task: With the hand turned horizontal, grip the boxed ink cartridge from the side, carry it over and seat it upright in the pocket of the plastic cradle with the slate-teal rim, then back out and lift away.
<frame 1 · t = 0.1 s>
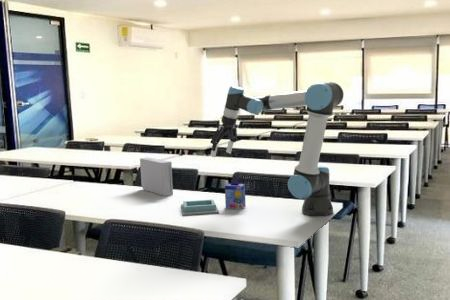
hand: (220, 154, 259), 28 cm above the table, tool tilted 20°, fingers open, 13 cm apart
cradle: (199, 209, 257), on the table
ink cartridge box: (235, 207, 260), on the table
game console: (156, 192, 302), on the table
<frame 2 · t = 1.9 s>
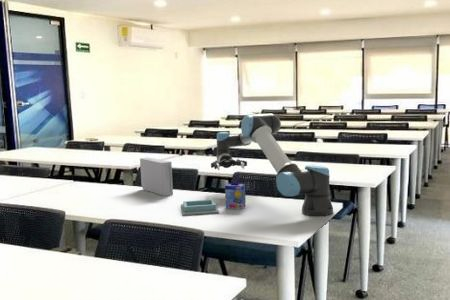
hand: (231, 166, 267), 20 cm above the table, tool horizontal, fingers open, 13 cm apart
nothing on the table moved.
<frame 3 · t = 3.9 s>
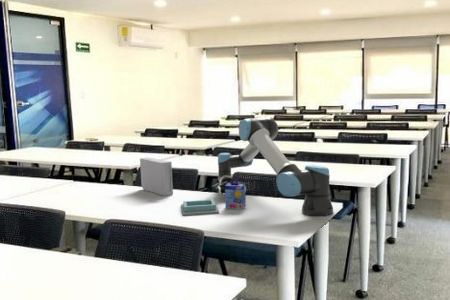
hand: (232, 190, 265), 8 cm above the table, tool horizontal, fingers open, 13 cm apart
nothing on the table moved.
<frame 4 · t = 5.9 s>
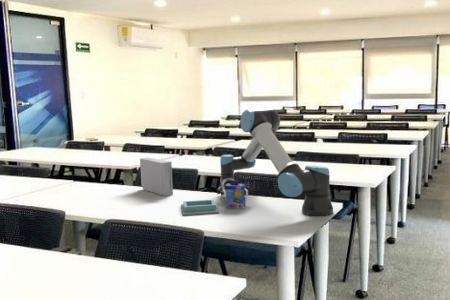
hand: (236, 194, 254), 8 cm above the table, tool horizontal, fingers closed on ink cartridge box, 11 cm apart
ink cartridge box: (235, 207, 260), on the table, touching gripper
everything else where it was.
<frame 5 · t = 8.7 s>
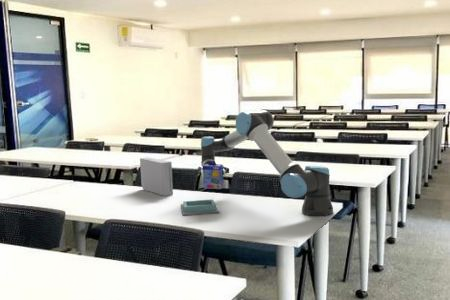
hand: (213, 174, 253), 19 cm above the table, tool horizontal, fingers closed on ink cartridge box, 11 cm apart
ink cartridge box: (213, 188, 259), point 11 cm above the table, touching gripper
everything else where it was.
when the fingers open (10 cm above the table, at t = 11.7 s): ink cartridge box drops 1 cm, resting on cradle.
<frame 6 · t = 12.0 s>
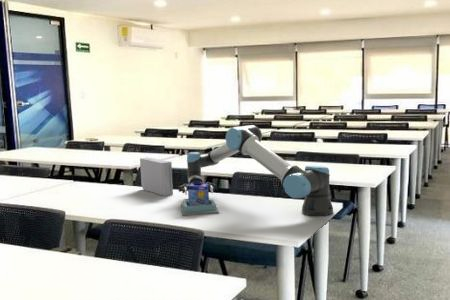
hand: (199, 191, 252), 10 cm above the table, tool horizontal, fingers open, 13 cm apart
ink cartridge box: (199, 208, 257), point 1 cm above the table, touching cradle
everything else where it was.
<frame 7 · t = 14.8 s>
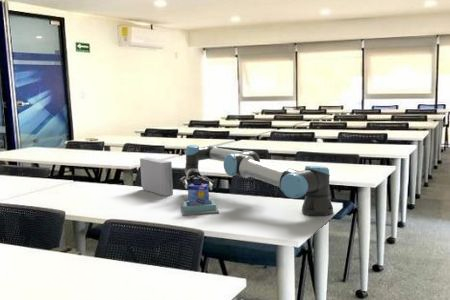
hand: (199, 186, 265), 10 cm above the table, tool horizontal, fingers open, 13 cm apart
nothing on the table moved.
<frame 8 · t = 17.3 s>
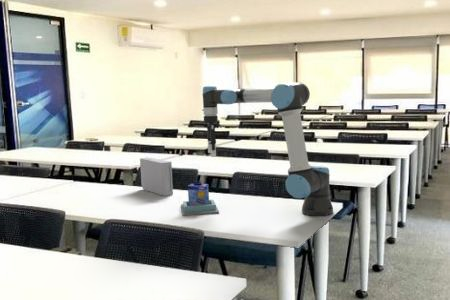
hand: (212, 154, 267), 27 cm above the table, tool pointing down, fingers open, 13 cm apart
nothing on the table moved.
at the end: ink cartridge box 0.2 cm off-centre on the cradle, point 0.8 cm above the cradle's base; ink cartridge box tilted 0°; the gripper is holding nothing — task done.
